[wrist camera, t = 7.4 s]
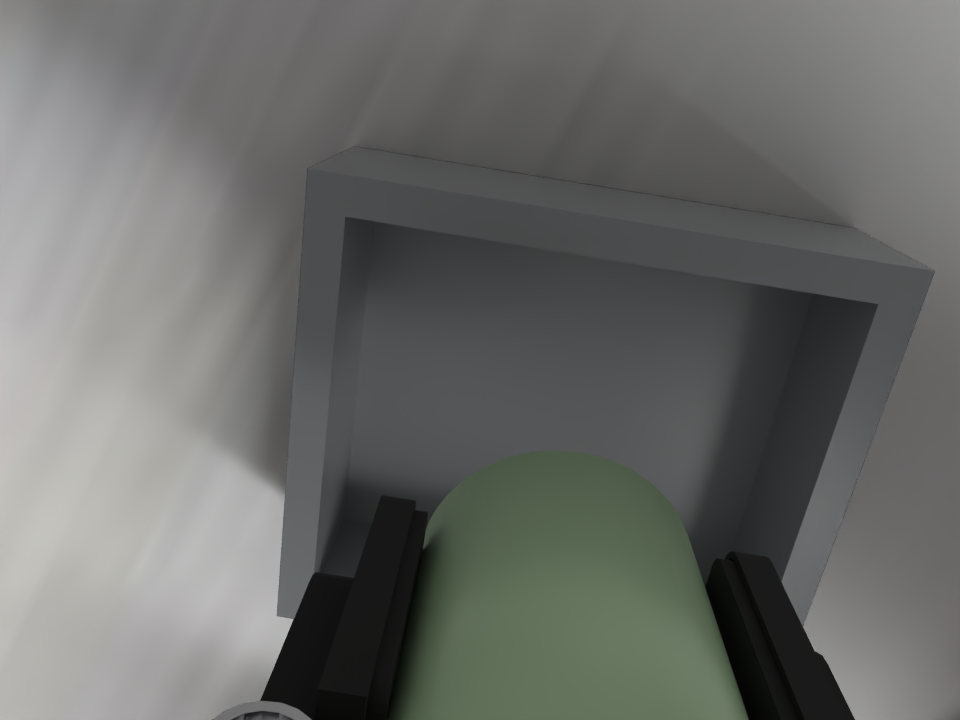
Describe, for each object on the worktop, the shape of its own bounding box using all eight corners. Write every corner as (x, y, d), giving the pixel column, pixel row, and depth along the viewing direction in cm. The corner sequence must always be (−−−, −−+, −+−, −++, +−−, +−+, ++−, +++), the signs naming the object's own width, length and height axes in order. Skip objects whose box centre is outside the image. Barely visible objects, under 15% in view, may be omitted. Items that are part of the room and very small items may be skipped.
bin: (855, 228, 19) (934, 271, 15) (736, 594, 22) (774, 701, 19) (353, 146, 19) (307, 168, 15) (320, 524, 23) (276, 616, 19)
